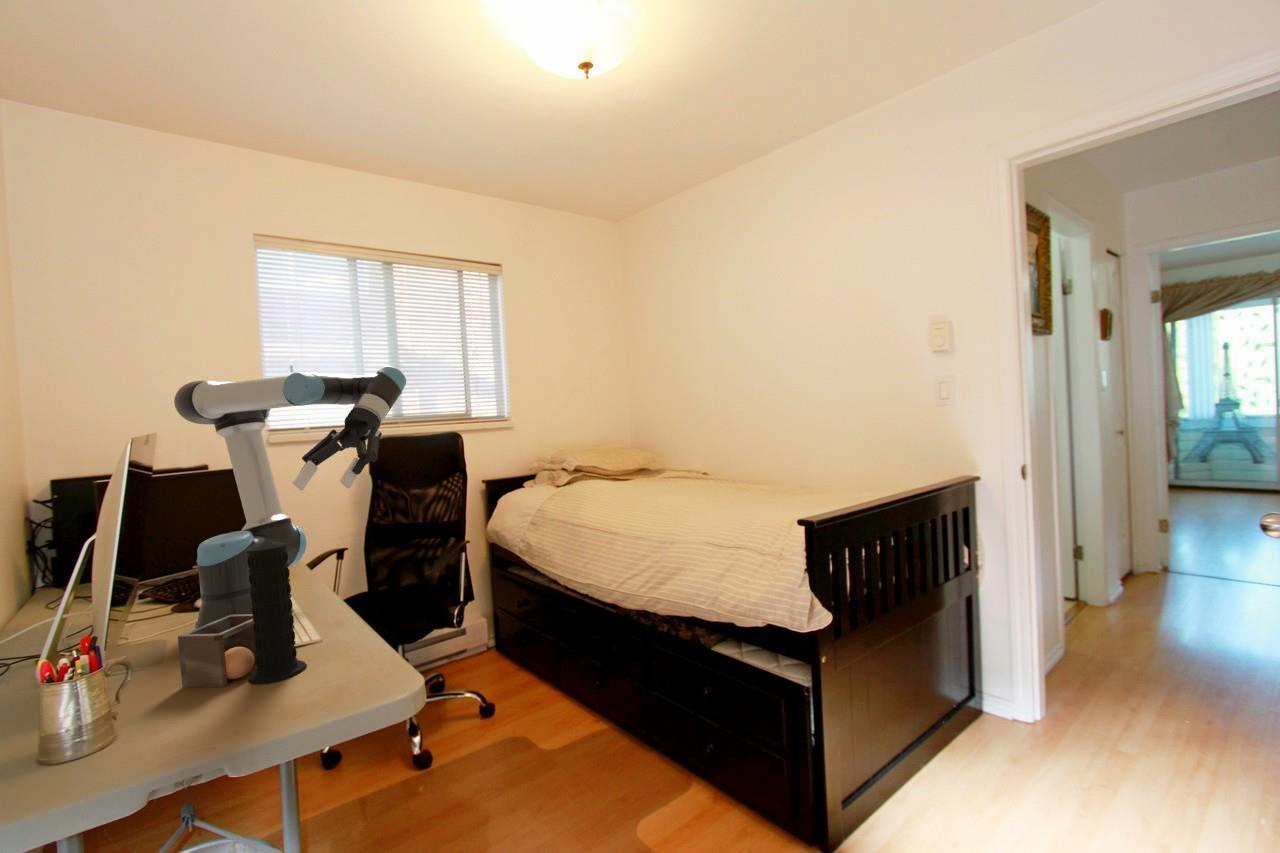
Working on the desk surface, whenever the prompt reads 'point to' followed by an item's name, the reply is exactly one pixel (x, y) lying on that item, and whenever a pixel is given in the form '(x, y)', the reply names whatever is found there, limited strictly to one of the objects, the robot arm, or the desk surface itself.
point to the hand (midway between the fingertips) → (320, 485)
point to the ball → (238, 662)
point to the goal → (213, 649)
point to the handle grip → (272, 614)
